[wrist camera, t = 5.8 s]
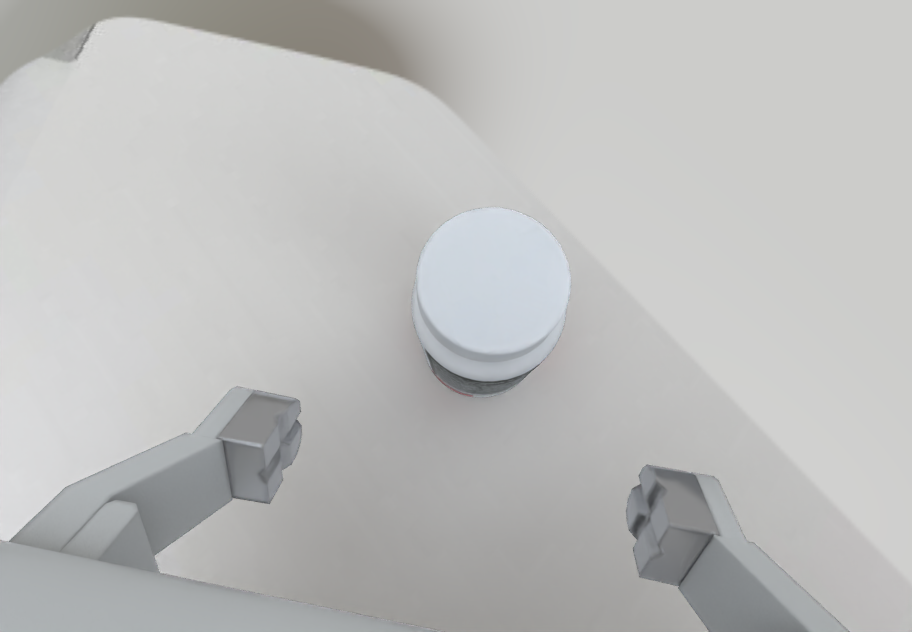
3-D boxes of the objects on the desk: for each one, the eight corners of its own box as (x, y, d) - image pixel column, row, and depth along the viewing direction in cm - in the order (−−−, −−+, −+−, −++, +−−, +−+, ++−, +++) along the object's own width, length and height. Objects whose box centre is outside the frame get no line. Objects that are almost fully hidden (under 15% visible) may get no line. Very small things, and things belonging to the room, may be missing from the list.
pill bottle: (554, 365, 20) (626, 316, 12) (455, 418, 19) (457, 405, 11) (500, 271, 21) (530, 165, 13) (405, 319, 20) (372, 239, 12)
